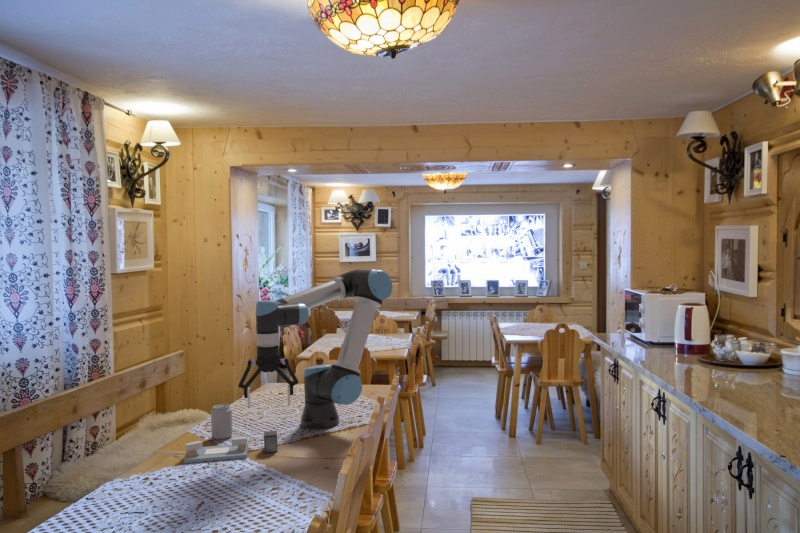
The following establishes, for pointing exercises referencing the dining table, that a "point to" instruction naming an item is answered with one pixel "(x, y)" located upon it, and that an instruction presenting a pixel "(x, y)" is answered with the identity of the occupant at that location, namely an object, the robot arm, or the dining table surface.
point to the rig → (216, 451)
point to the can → (221, 421)
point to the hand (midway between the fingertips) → (269, 406)
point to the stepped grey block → (270, 441)
